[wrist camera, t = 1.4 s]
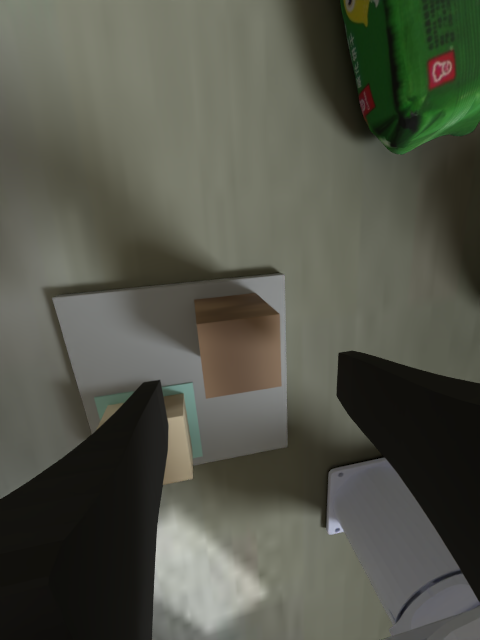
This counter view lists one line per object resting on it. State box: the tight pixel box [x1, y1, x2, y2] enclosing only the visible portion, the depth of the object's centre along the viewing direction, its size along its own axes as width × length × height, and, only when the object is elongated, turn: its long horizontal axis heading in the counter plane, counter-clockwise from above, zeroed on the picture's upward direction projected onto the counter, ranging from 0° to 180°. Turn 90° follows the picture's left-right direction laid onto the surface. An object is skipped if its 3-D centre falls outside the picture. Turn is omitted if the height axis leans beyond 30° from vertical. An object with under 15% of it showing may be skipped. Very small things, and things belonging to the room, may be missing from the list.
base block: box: [97, 393, 193, 485], centre depth 18 cm, size 5×5×2 cm
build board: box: [52, 273, 288, 466], centre depth 19 cm, size 14×14×1 cm
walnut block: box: [194, 293, 282, 399], centre depth 16 cm, size 4×4×5 cm
